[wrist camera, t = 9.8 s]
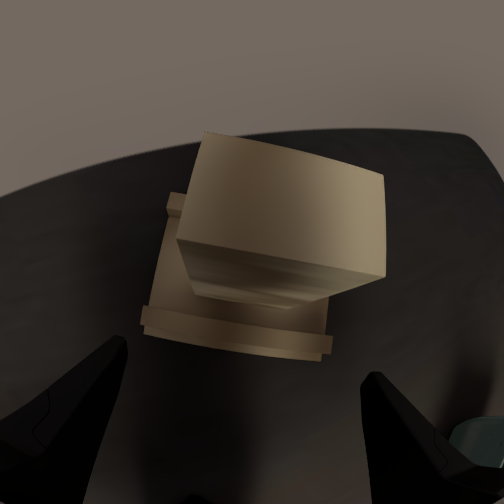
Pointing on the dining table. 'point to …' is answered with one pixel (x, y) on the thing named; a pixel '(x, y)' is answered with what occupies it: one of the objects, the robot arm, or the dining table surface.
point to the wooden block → (279, 224)
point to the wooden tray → (227, 312)
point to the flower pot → (481, 440)
